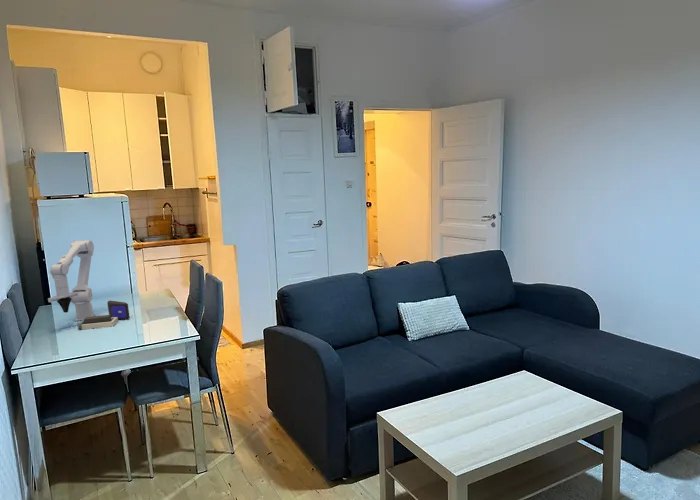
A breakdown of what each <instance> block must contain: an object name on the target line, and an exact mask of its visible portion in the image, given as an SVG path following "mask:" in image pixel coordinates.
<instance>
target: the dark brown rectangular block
mask: <svg viewBox="0 0 700 500" xmlns="http://www.w3.org/2000/svg"><path fill="white" fill-rule="evenodd" d="M111 321H112V320H111V315H109V314H104V315H94V316H93V317H86V318H85V319H84V324H92V323H102V322H111Z"/></svg>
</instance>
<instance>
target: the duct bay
mask: <svg viewBox="0 0 700 500" xmlns="http://www.w3.org/2000/svg"><path fill="white" fill-rule="evenodd" d="M111 320H112V321H111V322H102V323H92V324H82V325H81V326H82V329H81V330H82V331H83V330H91V329H92V328H94V329H102V327H104V328H112V326H113V327H114V326H115V325H116V324H118V322H119V320H118V317H112V318H111Z"/></svg>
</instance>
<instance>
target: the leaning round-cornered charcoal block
mask: <svg viewBox="0 0 700 500" xmlns="http://www.w3.org/2000/svg"><path fill="white" fill-rule="evenodd" d="M107 309H108V310H107V311H108V315H111V318H112V317H118V321H124V320H129V318H131V316H130V311H129V304H128V303H127V302H125V301H116V300H108V301H107Z"/></svg>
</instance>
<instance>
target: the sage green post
mask: <svg viewBox="0 0 700 500" xmlns="http://www.w3.org/2000/svg"><path fill="white" fill-rule="evenodd" d="M82 324H84V320H81V321H79V322H78V324H77V328H78V330H82V326H81V325H82Z"/></svg>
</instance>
